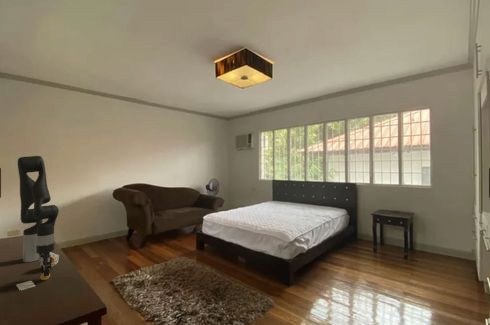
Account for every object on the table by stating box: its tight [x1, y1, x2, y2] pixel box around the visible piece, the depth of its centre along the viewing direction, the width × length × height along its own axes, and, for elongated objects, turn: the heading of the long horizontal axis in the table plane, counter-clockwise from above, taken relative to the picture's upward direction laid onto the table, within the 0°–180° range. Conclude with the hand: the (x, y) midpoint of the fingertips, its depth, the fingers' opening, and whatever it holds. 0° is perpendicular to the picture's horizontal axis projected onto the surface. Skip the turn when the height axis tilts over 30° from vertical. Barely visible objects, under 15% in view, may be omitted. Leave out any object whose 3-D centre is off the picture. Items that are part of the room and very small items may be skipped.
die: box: [50, 251, 60, 268], centre depth 141 cm, size 8×9×10 cm
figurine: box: [39, 256, 56, 281], centre depth 128 cm, size 8×6×12 cm
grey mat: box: [15, 280, 36, 291], centre depth 121 cm, size 9×6×1 cm, turn 52°
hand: (45, 274), depth 127 cm, fingers open, 5 cm apart
